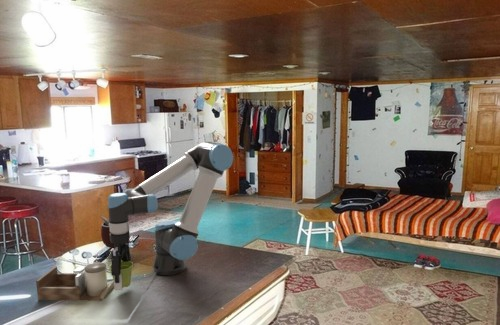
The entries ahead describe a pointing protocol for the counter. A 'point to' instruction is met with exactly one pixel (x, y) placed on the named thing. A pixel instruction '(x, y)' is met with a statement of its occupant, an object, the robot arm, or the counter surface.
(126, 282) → the plant pot
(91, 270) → the cream jar
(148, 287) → the counter surface
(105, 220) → the mate gourd
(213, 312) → the counter surface
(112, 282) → the wooden organizer tray
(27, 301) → the counter surface
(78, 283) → the pusher
